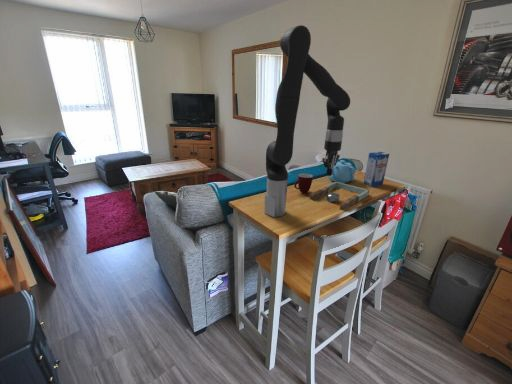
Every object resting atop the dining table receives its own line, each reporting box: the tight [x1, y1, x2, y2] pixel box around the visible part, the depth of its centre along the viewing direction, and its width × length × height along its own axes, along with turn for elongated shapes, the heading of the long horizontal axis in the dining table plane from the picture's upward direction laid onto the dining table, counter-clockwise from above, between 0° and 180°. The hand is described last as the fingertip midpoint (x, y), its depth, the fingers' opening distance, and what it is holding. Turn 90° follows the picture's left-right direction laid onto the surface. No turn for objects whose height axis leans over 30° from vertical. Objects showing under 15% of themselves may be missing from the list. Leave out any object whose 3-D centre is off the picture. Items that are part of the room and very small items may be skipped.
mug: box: [293, 173, 313, 194], centre depth 143 cm, size 11×8×10 cm
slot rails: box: [309, 186, 358, 211], centre depth 134 cm, size 16×19×3 cm
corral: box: [324, 181, 370, 202], centre depth 144 cm, size 13×20×3 cm, turn 46°
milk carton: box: [363, 151, 390, 188], centre depth 157 cm, size 10×6×20 cm, turn 115°
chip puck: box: [326, 192, 340, 204], centre depth 134 cm, size 6×6×4 cm
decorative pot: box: [327, 159, 356, 184], centre depth 163 cm, size 16×16×14 cm
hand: (329, 175), depth 123 cm, fingers closed
